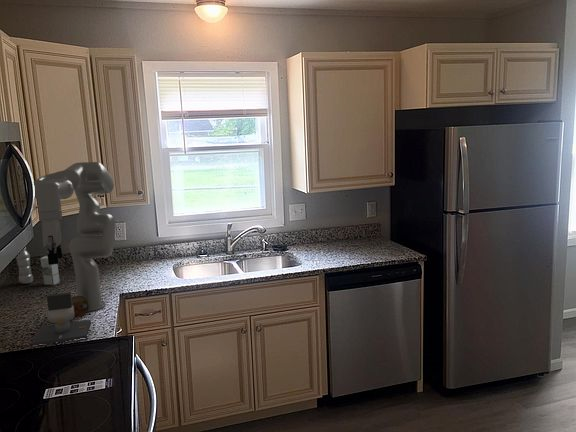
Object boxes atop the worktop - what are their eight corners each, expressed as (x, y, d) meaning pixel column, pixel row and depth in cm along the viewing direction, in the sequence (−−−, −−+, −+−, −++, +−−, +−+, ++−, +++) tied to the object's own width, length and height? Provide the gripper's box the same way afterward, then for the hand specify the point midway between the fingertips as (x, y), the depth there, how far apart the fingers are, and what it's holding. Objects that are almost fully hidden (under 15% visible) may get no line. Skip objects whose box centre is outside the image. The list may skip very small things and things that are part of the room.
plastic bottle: (27, 285, 253) (23, 247, 250) (16, 285, 254) (11, 247, 251) (36, 281, 259) (31, 244, 256) (25, 281, 260) (20, 244, 257)
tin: (50, 320, 201) (47, 300, 200) (51, 317, 204) (49, 298, 203) (89, 315, 206) (87, 296, 204) (90, 313, 209) (88, 294, 207)
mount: (41, 329, 192) (39, 314, 191) (91, 323, 197) (89, 308, 196) (32, 346, 175) (30, 330, 175) (86, 339, 180) (85, 323, 180)
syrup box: (60, 281, 257) (57, 254, 255) (53, 285, 251) (50, 257, 249) (49, 282, 258) (46, 255, 255) (43, 285, 252) (39, 257, 250)
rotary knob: (50, 316, 188) (47, 292, 187) (76, 312, 191) (73, 289, 189) (45, 326, 178) (42, 301, 176) (72, 322, 180) (69, 297, 179)
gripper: (43, 213, 186) (48, 257, 189) (34, 219, 170) (40, 267, 172) (65, 211, 188) (69, 255, 191) (58, 217, 172) (63, 265, 174)
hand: (55, 261), depth 181 cm, fingers open, 9 cm apart
